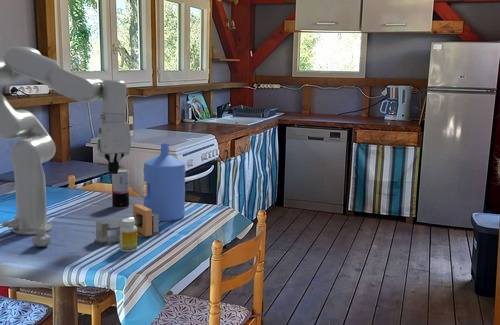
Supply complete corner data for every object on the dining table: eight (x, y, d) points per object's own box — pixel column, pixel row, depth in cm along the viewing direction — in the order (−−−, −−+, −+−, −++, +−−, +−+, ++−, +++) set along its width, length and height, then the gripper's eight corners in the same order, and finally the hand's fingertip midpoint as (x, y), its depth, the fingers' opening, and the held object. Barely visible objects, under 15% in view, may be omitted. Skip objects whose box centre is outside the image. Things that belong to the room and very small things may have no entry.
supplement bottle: (116, 249, 165) (115, 219, 163) (130, 245, 169) (130, 216, 167) (126, 253, 161) (125, 223, 160) (140, 249, 165) (140, 220, 164)
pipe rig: (102, 245, 168) (101, 224, 166) (94, 240, 172) (94, 219, 171) (160, 234, 181) (160, 214, 180) (151, 229, 185) (151, 210, 184)
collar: (145, 236, 176) (145, 210, 174) (133, 229, 182) (133, 204, 181) (151, 235, 177) (152, 209, 175) (139, 228, 184) (139, 203, 182)
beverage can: (109, 207, 211) (108, 171, 208) (117, 203, 217) (116, 168, 214) (124, 209, 209) (124, 172, 206) (131, 205, 215) (131, 169, 213)
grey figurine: (49, 242, 169) (48, 218, 167) (52, 249, 163) (51, 224, 162) (31, 244, 166) (30, 220, 165) (33, 251, 160) (32, 226, 159)
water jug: (190, 213, 207) (192, 143, 202) (174, 224, 193) (175, 148, 187) (154, 208, 211) (155, 140, 206) (136, 219, 197) (136, 145, 191)
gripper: (96, 120, 163) (96, 177, 167) (140, 119, 173) (139, 173, 176) (87, 117, 169) (87, 172, 173) (129, 116, 179) (128, 169, 182)
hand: (113, 173), depth 174 cm, fingers closed
